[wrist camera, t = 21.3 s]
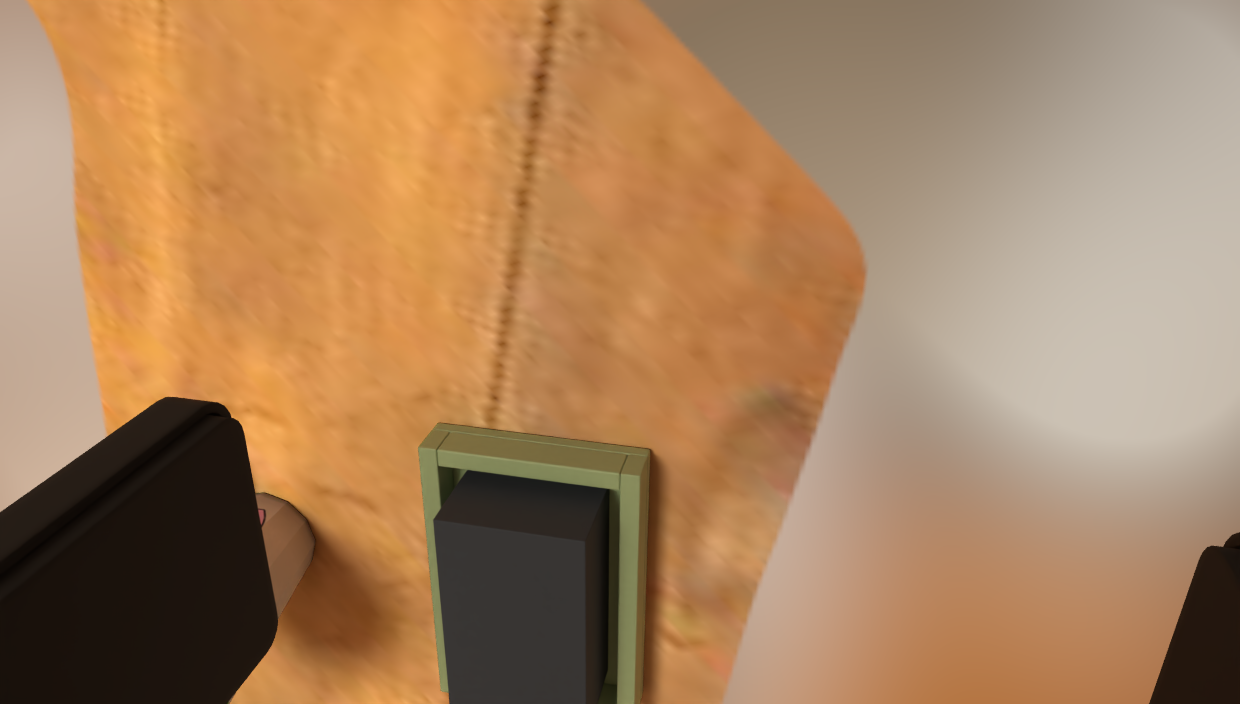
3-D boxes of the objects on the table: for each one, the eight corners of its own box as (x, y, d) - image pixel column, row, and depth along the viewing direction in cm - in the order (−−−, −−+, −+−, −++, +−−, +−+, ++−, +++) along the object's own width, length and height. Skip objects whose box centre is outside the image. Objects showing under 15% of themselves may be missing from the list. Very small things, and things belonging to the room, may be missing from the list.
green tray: (457, 659, 45) (440, 691, 43) (437, 422, 39) (417, 447, 37) (643, 692, 43) (634, 727, 41) (650, 448, 37) (640, 476, 35)
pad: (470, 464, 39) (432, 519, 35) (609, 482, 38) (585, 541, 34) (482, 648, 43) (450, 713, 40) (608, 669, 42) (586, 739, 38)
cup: (342, 478, 41) (106, 744, 28) (352, 613, 45) (146, 907, 32) (185, 448, 43) (-112, 688, 29) (206, 582, 46) (-51, 851, 33)
